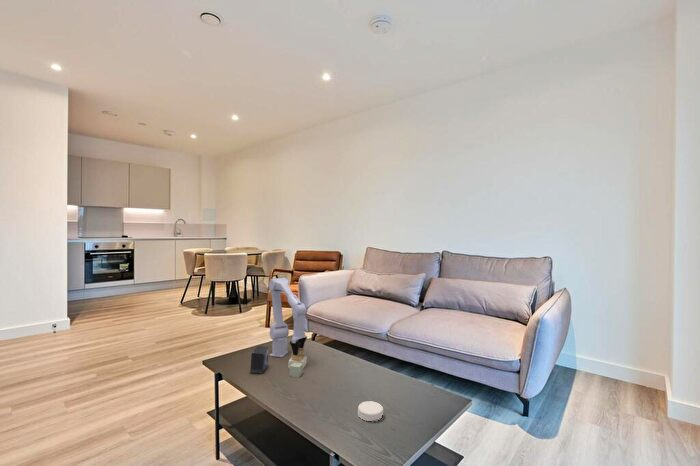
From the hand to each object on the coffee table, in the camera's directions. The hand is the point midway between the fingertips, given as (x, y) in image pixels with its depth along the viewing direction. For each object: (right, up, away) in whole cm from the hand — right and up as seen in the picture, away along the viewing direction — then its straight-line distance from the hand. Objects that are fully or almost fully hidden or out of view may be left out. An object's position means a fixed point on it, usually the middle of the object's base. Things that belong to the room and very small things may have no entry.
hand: (298, 352), depth 176 cm
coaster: (+36, -9, -46) cm, 59 cm away
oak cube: (0, -3, 0) cm, 3 cm away
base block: (0, -7, 0) cm, 7 cm away
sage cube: (+1, -7, -11) cm, 13 cm away
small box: (-19, -7, -7) cm, 21 cm away
